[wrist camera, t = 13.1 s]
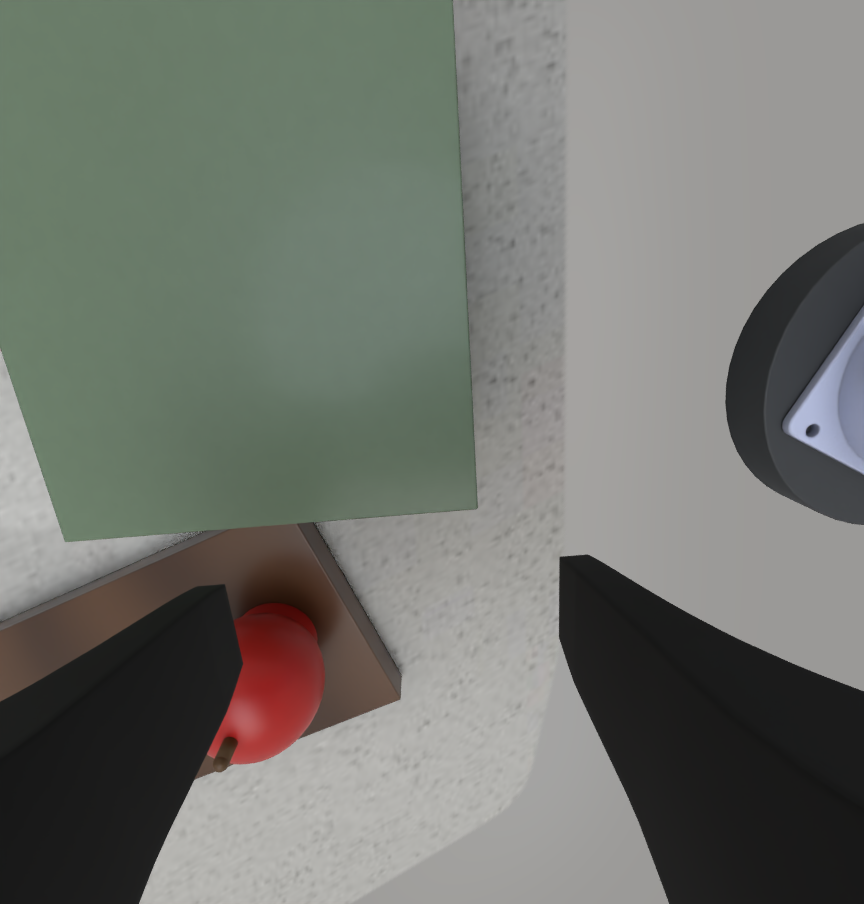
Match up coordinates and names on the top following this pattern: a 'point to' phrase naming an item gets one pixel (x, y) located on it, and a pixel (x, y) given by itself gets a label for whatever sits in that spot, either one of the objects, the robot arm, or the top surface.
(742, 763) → the robot arm
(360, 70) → the cabinet
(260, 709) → the apple
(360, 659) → the board
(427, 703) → the top surface
